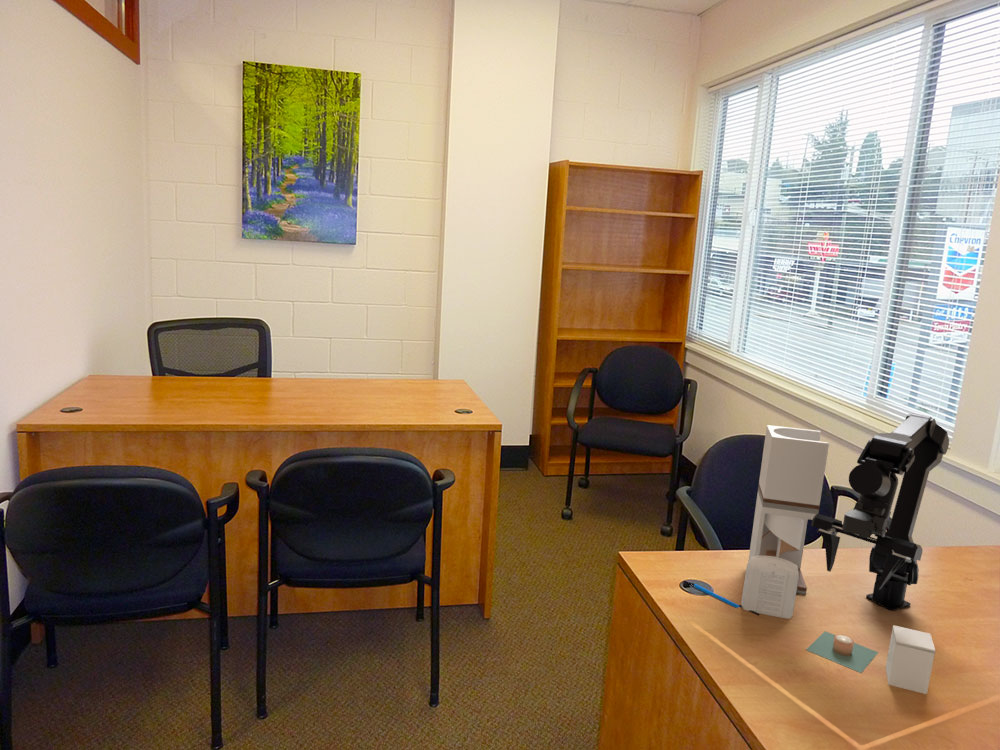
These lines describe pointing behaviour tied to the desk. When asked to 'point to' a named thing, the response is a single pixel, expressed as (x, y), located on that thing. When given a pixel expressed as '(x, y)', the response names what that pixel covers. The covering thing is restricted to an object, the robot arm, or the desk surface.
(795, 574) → the photo printer
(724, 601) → the pen
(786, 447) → the white coffee grinder
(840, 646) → the beige short cylinder
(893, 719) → the desk surface
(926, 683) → the white lidded box
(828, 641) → the mat
